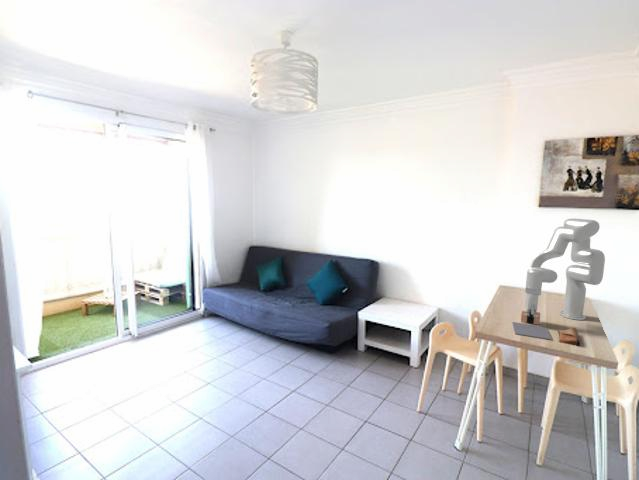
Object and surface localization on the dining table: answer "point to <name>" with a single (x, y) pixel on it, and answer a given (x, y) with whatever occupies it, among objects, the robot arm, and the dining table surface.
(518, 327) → the mat
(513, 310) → the dining table surface
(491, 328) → the dining table surface
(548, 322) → the dining table surface
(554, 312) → the dining table surface
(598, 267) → the robot arm
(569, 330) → the sunglasses case
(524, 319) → the slab
